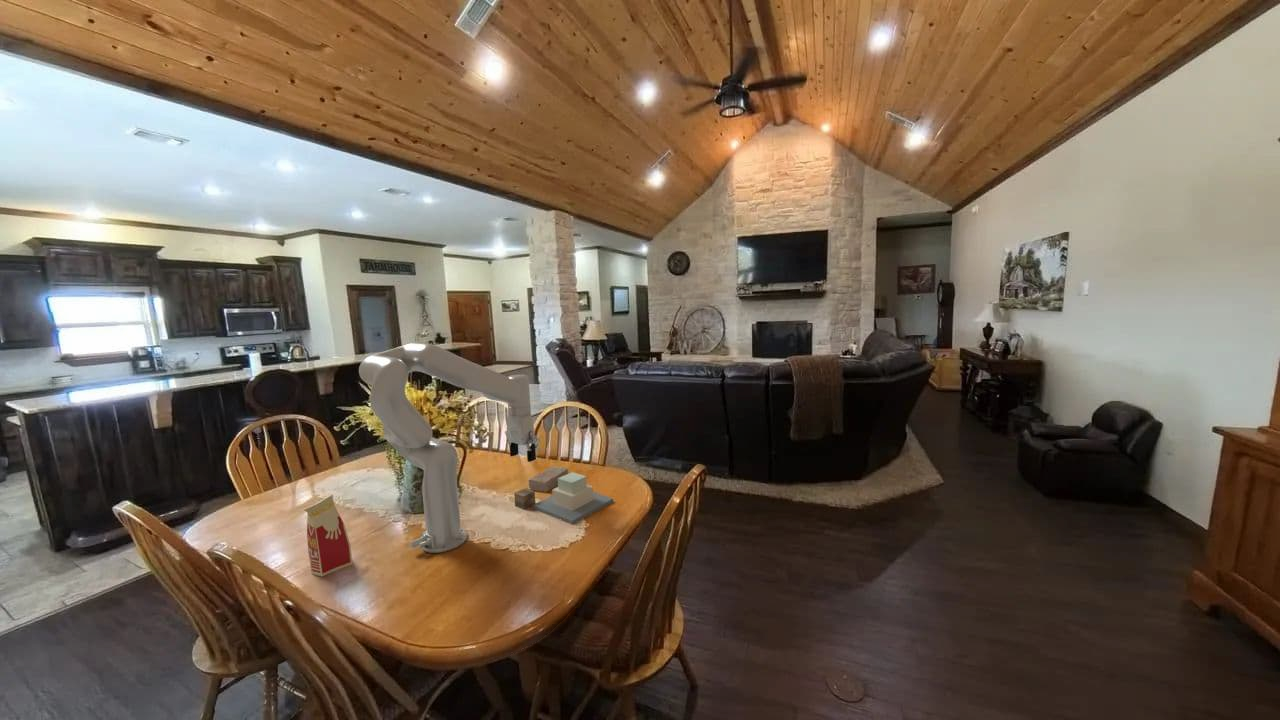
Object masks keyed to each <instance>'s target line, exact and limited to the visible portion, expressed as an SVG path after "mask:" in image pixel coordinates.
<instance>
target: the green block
mask: <svg viewBox="0 0 1280 720" xmlns="http://www.w3.org/2000/svg"><path fill="white" fill-rule="evenodd" d="M587 485H588V484H587V475H583V474H579V473H577V472H574V471H573V472H568V474H567V475H564V476H562V477H560V478H558V485H557V487H558V489H559V490H562V491H565V492H567V493H570V494H573V493H576V492H578V491H580V490H582V489H584V488H586V487H587Z"/></svg>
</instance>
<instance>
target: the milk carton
mask: <svg viewBox="0 0 1280 720" xmlns="http://www.w3.org/2000/svg"><path fill="white" fill-rule="evenodd" d="M334 501H335V500H334V494H333V493H332V494H330V495H328V496H325V498H323V499H321V500H320V501H319V502H316V503H314V504H312V505H310V506H308V507H306V508H303V509H302V511H305V512H306V513H307V517H306V518H307V522H306V523H307V525H306V536H307V550H308V551H307V552H308V558H309V563H310V564H309V565H310V571H311V574H312V575H315V576H318V577H324V576H327V575H328V574H331V573H334V572H335V571H338V570H341V569H343V568H346V567H349V566H351V565H353V557H352V556H353V555H352V548H351V546H352V545H351V543H350V538H349V536H348V532H347V528H346V525H345V523H344V521H343V519H342V517H341V515H340V512H339V511H338V509H337V507H336V504H335V502H334Z"/></svg>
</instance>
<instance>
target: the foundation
mask: <svg viewBox="0 0 1280 720" xmlns="http://www.w3.org/2000/svg"><path fill="white" fill-rule="evenodd" d="M551 493H552V494H551V495H550V496H548V497H546V498H544V499H542V500H539V501H538V502H535V504H533V505H532V506H531V507H532V509H534V510H536V511H539V512H541V513H543V514H546V515H549V516H550V517H553V518H555V519H558V520H560V519H561V520H560V521H563V522H566V523H568V524H570V525H574V524H576V523H577V522H579V521H581V520H583V519H585V518H587V517H588V516H590V515H591V514H594V513H595V512H598V511H599V510H601V509H603V508H604V507H606V506H608V505H610V504H612V503H614V498H612V497H610V496H608V495H604V494H600V493H597V492H594V488H593V486H592V485H588V484H587V487H586V488H584V489H582V490H580V491H578V492H576V493H573V494H570V493H567V492H565V491H562V490H559V489H558V486H556V487H554V488H553V489H551Z"/></svg>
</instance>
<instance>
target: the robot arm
mask: <svg viewBox="0 0 1280 720" xmlns="http://www.w3.org/2000/svg"><path fill="white" fill-rule="evenodd" d="M412 372H419V373H420V372H421V373H424V374H427V375H429V376H431V377H433V376H437V377H434V378H435V379H438V380H440V381H443V382H446V383H447V384H449V385H450V384H451V385H453V386H455V387H457V388H461V389H464V390H470V391H473V392H474V391H475V392H478V393H481V394H482V395H483V396H484V398H486V399H488V400H492V401H496V402H502V403H506V404H507V409H508V410H507V411H508V413H507V417H506V430H505V431H504V434H505V436H506V440H507V444H508V446H509V456H510V457H515V456H517V455H519V446H520V445H521V446H525V447H526V449H527V450H526V455H527V456H526V458H527V462H529V463H530V462H534V461H535V460H536V459H537V455H536V453H537V452H536V451H537V450H536V449H537V447H538V446H539V441H540V439H539V438H538V436H537V435H535V428H534V421H533V416H532V409H531V394H530V392H531V391H530V379H529V377H528V375H526V374H511V375H509V376H507V375H504V374H503V373H501V372H497V371H496V370H492V369H490V368H488V367H485V366H482V365H480V364H478V363H477V362H476V363H475V362H472V361H471V360H468V359H466V358H463V357H461V356H459V355H457V354H456V353H453V352H451V351H449V350H446V349H444V348H442V347H440V346H438V345H435V344H432V343H426V342H410V343H407V344H404V345H400V346H397V347H395V348H391V349H388V350H384V351H381V352H378V353H375V354H372V355H370V356H367V357H366V358H365V359H363V360H362V362H361V363H360V365H359V367H358V374H359V377H360V379H361V380H362V381H363V382H365V383H366V384H368V385H370V386H371V388H370V396H369V402H370V407H371V410H372V411H373V413H374V415H375V416H376V417H377V418H378V420H380V421H381V423H382V429H381V431H382V435H383V437H384V438H385V440H386V441H387V442H388V443H389V445H391V446H392V447H393V449H395V450H396V451H397V452H398V454H400V456H401V457H403V459H405V460H406V461H407V462H408V463H409V464H411V465H412V466H414V467H417V468H419V469H421V470H423V478H422V483H421V484H422V485H421V493H422V501H423V512H424V514H423V515H424V522H425V523H424V524H425V530H424V531H422V535H421V536H420V537H419V538H417V539H414V540H411V541H410V542H409V544H408V545H409V547H410V549H414V548H417V547H418V548H419V549H422V550H423V551H425V552H427V553H432V554H438V553H443V552H444V553H445V552H448V551H451V550H454V549H457V548H458V547H460V546H461V545H463V544H464V543H465V542H466V540H467V538H468V536H467V531H466V530H464V529H463V528H462V526H461V517H460V516H461V514H460V505H459V491H458V490H459V489H458V479H457V472H458V465H459V464H458V463H459V456H458V451H457V449H456V448H455V447H454V445H452V443H450V442H448V441H446V440H445V441H444V440H442V439H439V438H436V437H433V429H432V426H431V424H430V422H429V421H428V420H427V419H426V418H425V417H424V416H423V415H422V414H421V413H420V412H419V411H418V409H416V407H415V406H414V405H413V404H412V402H411V401H410V400H409V399H408V397H407V396H406V387H407V383H408V380H409V379H408V378H409V374H410V373H412Z"/></svg>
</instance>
